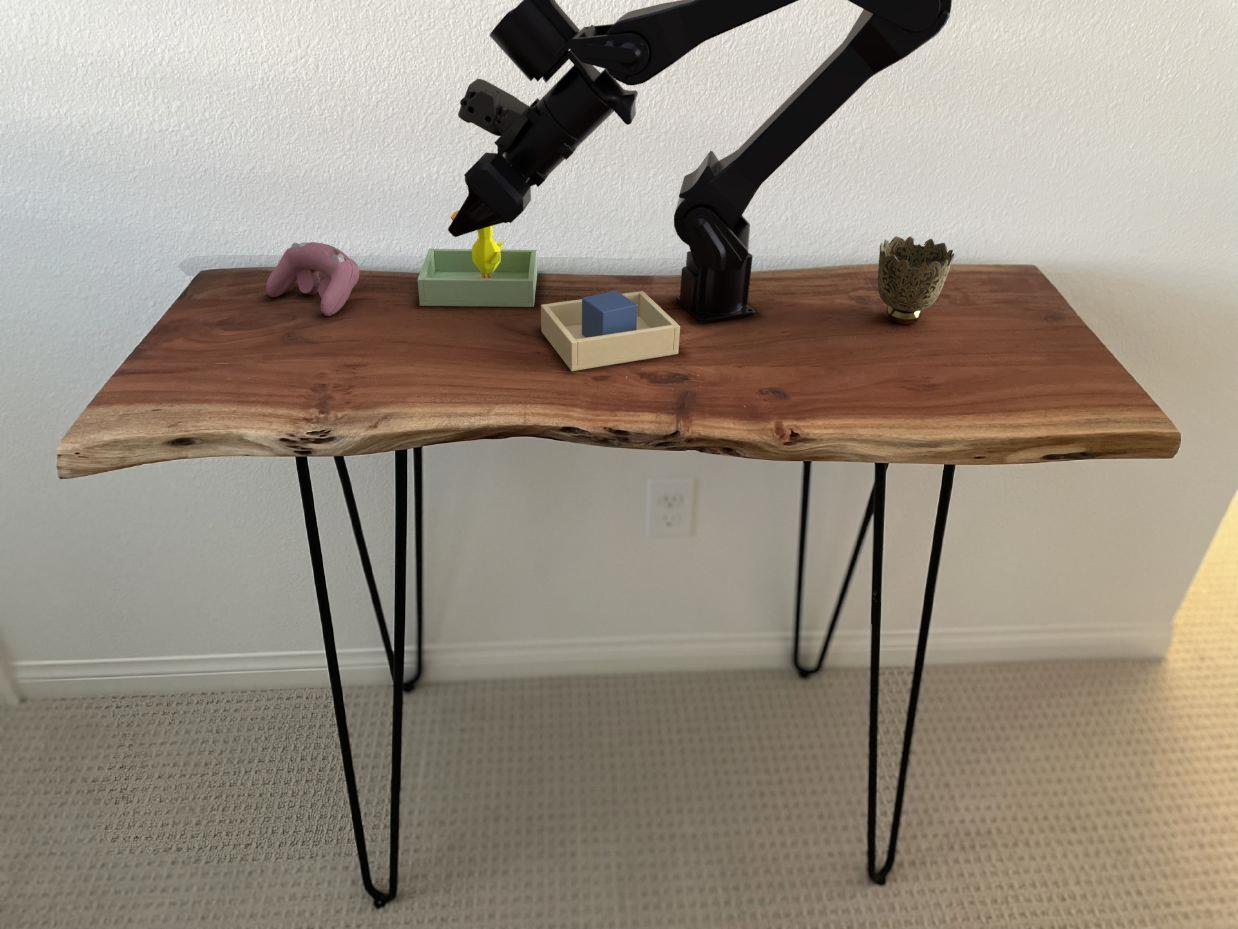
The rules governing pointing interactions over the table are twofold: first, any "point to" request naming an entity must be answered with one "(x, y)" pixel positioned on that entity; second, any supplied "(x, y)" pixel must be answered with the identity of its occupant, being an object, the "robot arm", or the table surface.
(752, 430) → the table surface
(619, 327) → the slate block
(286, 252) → the video game controller
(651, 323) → the beige tray
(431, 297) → the green tray
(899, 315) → the cup
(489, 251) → the toy figure
